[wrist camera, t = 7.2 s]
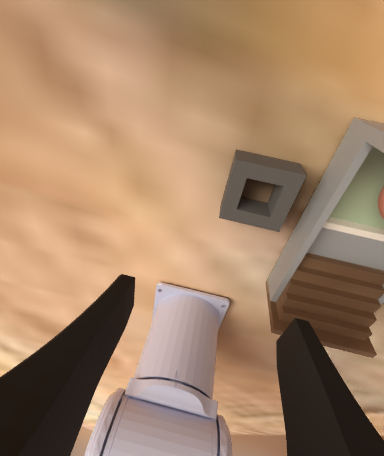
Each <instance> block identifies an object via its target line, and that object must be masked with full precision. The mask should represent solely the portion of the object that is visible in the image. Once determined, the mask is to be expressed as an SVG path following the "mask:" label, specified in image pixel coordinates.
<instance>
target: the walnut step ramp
mask: <svg viewBox="0 0 384 456" xmlns="http://www.w3.org/2000/svg"><path fill="white" fill-rule="evenodd" d="M383 284H384V271H383V270H379V269H375V268H371V267H366V266H362V265H358V264H354V263H349V262H345V261H341V260H336V259H332V258H328V257H324V256H319V255H315V254H311V253H306V255H305V256H304V258H303V259H302V261H301V263H300V264H299V266H298V267H297V269H296V271H295V272H294V274H293V276H292V277H291V279H290V280H289V282H288V284H287V285H286V287H285V288H284V290H283V292H282V293H281V295H280V296H279V298H278V300H277V301H276V302H273V301H270V295H269V287H268V279H267V281H266V290H267V299H268V307H269V316H270V324H271V333H275V334H279V335H282V334H283V332H284V331H285V330H286V329H287V327H288V326H289V325H290V323H291V322H292V321H293V319H294V318H298V319H302V320H306V321H309V323H310V324H311V326H312V328H313V330H314V331H315V333H316V335H317V337H318V338H319V340H320V342H321V344H322V345H323V346H327V347H331V348H335V349H339V350H343V351H347V352H351V353H355V354H359V355H364V356H368V357H372V358H373V357H374V356H376V355H377V354H376V352H375V350H374V348H373V346H372V344H371V341H370V339H369V337H370V336H371V335H372V333H371V330H370V328H369V327H370V326H371V325H372V324H373V323H374V322H375V321H376V318H375V316H374V314H373V313H374V312H375V311H376V310H377V309H379V308H380V307H381V304H380V303H379V301H378V299H379V298H380V297H381V296H382V295H383V294H384V288H383V286H382V285H383Z"/></svg>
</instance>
